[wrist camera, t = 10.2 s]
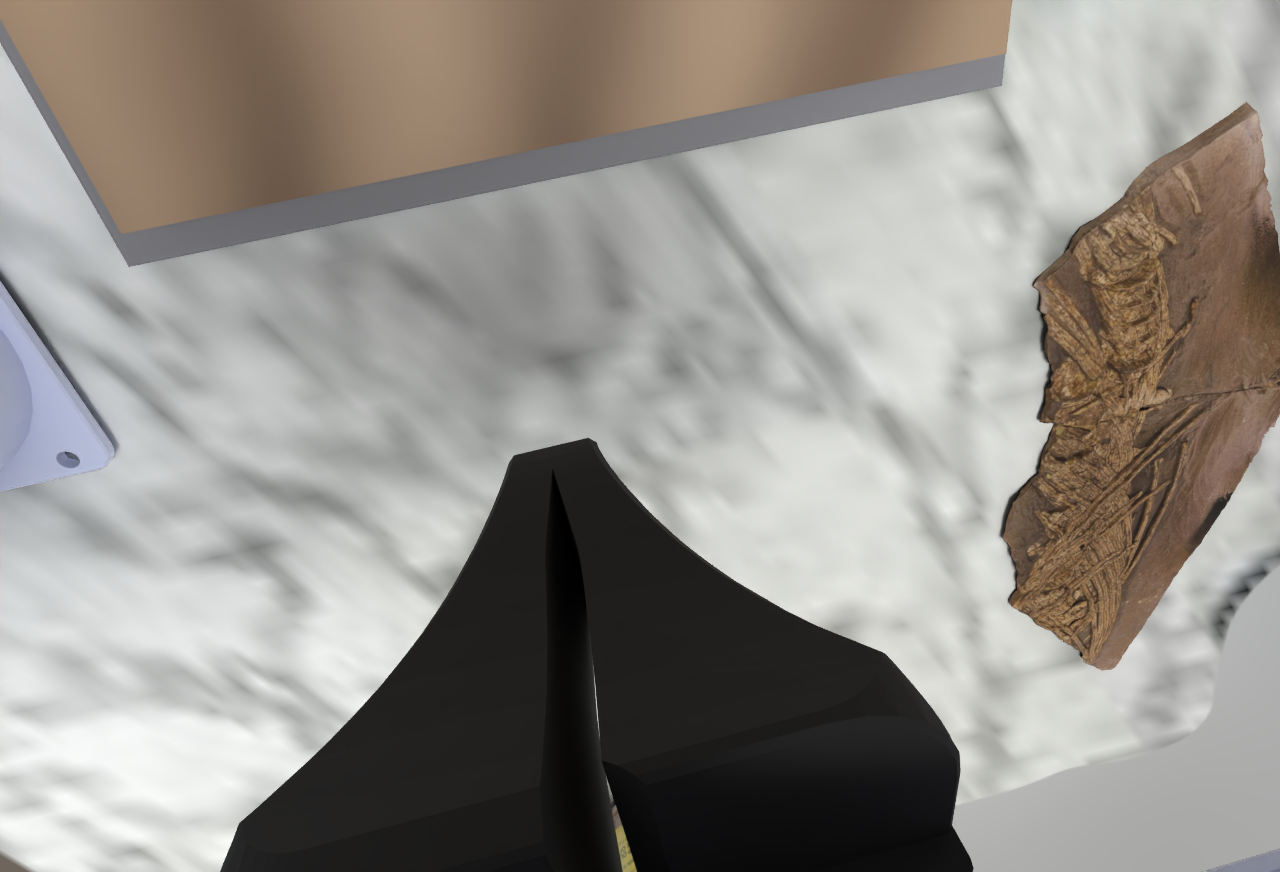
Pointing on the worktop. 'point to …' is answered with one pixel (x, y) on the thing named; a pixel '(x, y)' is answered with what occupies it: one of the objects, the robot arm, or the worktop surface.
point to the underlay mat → (515, 159)
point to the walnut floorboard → (429, 80)
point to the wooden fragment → (1150, 388)
